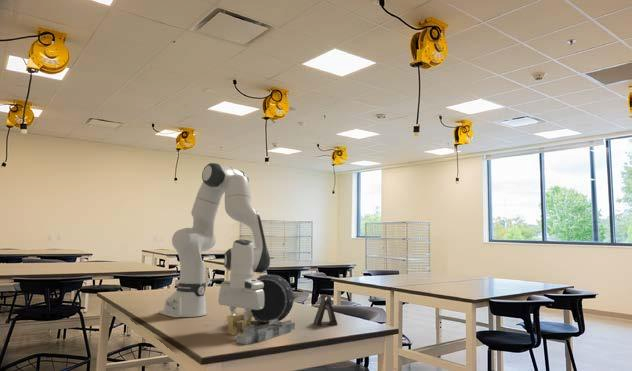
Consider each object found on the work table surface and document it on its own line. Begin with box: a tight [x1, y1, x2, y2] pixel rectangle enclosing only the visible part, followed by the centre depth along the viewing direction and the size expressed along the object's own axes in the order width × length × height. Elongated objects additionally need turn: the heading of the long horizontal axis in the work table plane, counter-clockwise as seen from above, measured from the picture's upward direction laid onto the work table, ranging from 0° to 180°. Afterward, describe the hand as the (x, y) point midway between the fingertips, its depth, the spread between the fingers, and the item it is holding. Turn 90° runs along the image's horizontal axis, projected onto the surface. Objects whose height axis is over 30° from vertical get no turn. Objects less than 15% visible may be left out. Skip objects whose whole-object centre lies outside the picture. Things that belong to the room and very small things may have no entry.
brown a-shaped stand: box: [313, 293, 338, 326], centre depth 180 cm, size 9×6×12 cm, turn 103°
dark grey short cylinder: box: [251, 274, 295, 325], centre depth 179 cm, size 11×20×20 cm, turn 78°
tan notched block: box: [226, 311, 253, 336], centre depth 161 cm, size 11×3×6 cm, turn 149°
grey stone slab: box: [236, 318, 296, 346], centre depth 156 cm, size 30×7×4 cm, turn 149°
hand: (239, 319), depth 161 cm, fingers open, 4 cm apart
